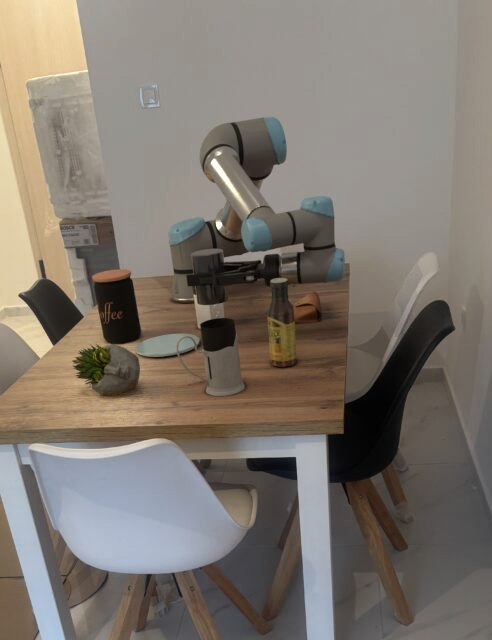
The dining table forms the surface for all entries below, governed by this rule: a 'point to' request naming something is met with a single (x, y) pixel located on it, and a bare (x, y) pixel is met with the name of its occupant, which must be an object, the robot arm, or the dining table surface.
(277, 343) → the sauce bottle
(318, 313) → the sunglasses case
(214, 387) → the glass holder
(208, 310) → the jar
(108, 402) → the dining table surface
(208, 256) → the dark glossy canister
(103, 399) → the dining table surface
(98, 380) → the potted plant
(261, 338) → the dining table surface
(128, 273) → the coffee jar
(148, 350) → the saucer
